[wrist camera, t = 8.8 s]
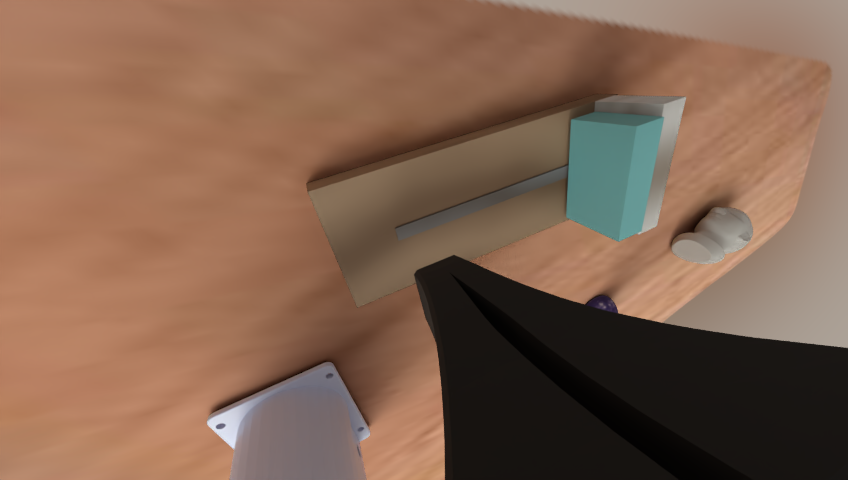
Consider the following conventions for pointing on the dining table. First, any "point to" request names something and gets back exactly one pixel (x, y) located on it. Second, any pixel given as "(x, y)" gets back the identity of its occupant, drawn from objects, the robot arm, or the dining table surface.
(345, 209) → the clamp board
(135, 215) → the dining table surface
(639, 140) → the sliding jaw
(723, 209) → the pale two-lobed sculpture
